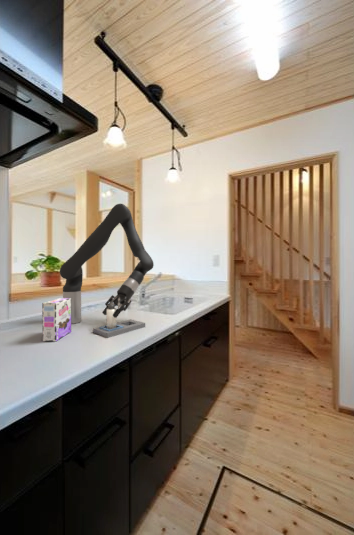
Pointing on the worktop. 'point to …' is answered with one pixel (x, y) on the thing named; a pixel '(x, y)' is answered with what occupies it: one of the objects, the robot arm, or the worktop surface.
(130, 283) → the robot arm
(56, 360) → the worktop surface
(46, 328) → the candy box
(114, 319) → the cream upright block
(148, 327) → the worktop surface
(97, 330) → the grey socket board
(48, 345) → the worktop surface
